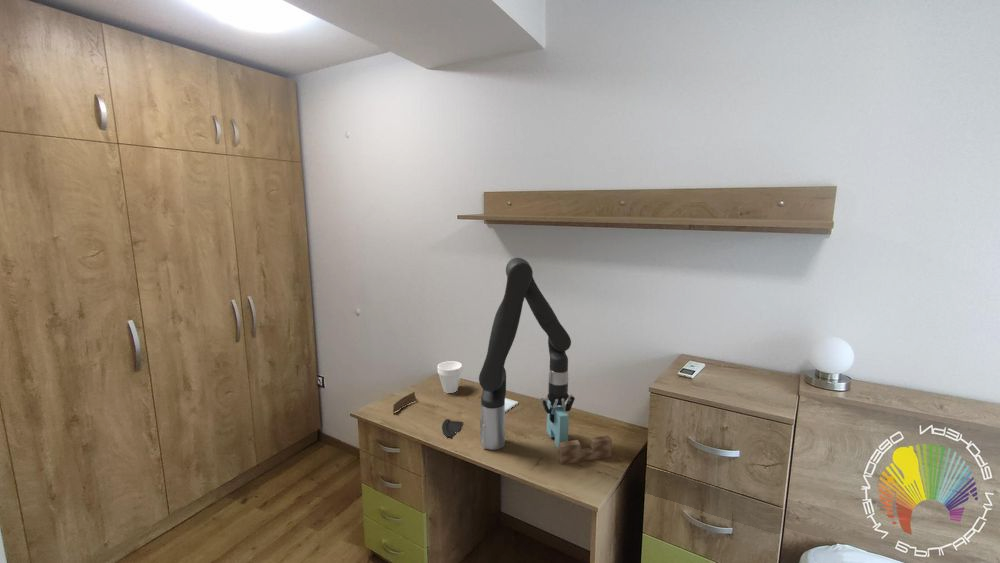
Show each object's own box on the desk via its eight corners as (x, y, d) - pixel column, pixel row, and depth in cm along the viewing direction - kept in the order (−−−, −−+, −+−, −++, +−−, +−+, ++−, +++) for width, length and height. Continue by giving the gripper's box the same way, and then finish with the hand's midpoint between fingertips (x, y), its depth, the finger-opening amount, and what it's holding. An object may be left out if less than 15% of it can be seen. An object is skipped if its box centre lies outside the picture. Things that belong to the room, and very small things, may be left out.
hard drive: (503, 412, 200) (518, 401, 210) (488, 407, 204) (503, 397, 214) (503, 415, 200) (518, 404, 210) (488, 410, 205) (503, 400, 215)
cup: (454, 384, 233) (453, 359, 230) (467, 391, 223) (466, 366, 221) (433, 390, 225) (432, 364, 223) (446, 398, 216) (445, 372, 213)
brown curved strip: (396, 415, 200) (395, 404, 199) (392, 414, 201) (391, 404, 200) (417, 401, 213) (417, 391, 212) (414, 400, 214) (414, 391, 213)
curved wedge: (436, 438, 181) (435, 435, 181) (445, 422, 194) (445, 418, 194) (455, 440, 180) (455, 436, 179) (463, 423, 193) (463, 420, 192)
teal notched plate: (567, 449, 171) (568, 415, 168) (559, 450, 170) (560, 416, 167) (554, 430, 184) (555, 399, 181) (546, 431, 183) (547, 400, 181)
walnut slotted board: (561, 464, 162) (561, 446, 161) (558, 459, 165) (558, 442, 164) (611, 456, 167) (611, 439, 166) (607, 452, 170) (608, 435, 168)
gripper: (571, 375, 178) (570, 414, 181) (537, 378, 174) (537, 418, 177) (579, 382, 170) (577, 423, 174) (544, 386, 167) (543, 428, 170)
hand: (557, 421), depth 175 cm, fingers closed on teal notched plate, 3 cm apart
